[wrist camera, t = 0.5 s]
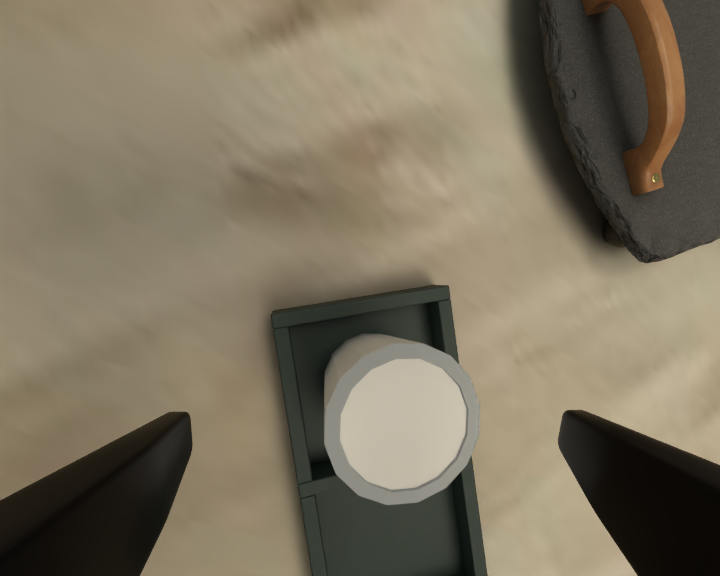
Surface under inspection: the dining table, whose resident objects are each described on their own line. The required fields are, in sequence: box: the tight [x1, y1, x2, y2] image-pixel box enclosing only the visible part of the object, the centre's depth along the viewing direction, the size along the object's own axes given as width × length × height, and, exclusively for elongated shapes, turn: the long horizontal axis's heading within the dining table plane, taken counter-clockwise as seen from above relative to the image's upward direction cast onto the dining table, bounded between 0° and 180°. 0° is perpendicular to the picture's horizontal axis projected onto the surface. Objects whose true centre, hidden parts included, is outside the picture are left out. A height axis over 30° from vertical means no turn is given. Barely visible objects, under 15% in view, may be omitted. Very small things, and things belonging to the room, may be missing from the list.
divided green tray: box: [271, 285, 487, 576], centre depth 21 cm, size 19×10×2 cm, turn 9°
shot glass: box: [324, 334, 480, 505], centre depth 18 cm, size 7×7×7 cm
